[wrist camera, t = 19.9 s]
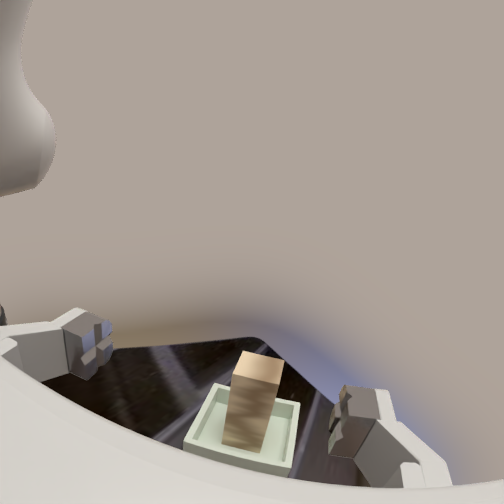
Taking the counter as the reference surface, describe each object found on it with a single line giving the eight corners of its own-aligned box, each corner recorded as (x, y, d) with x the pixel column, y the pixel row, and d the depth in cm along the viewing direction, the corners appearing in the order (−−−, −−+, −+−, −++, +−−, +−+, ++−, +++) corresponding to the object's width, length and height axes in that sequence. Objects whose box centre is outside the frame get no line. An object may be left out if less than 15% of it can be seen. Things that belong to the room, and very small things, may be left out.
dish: (182, 457, 32) (183, 441, 31) (212, 400, 44) (214, 382, 43) (284, 483, 30) (291, 468, 29) (294, 419, 42) (300, 402, 41)
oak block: (221, 443, 35) (232, 373, 32) (230, 420, 40) (243, 350, 37) (259, 453, 34) (279, 384, 31) (266, 428, 39) (284, 360, 36)
